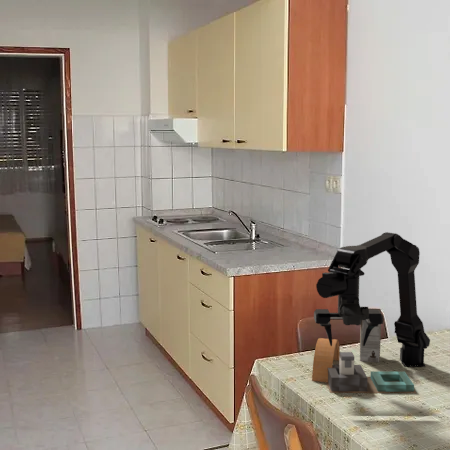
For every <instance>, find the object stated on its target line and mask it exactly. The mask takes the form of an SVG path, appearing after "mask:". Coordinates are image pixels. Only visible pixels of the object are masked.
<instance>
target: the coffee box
mask: <svg viewBox="0 0 450 450" xmlns="http://www.w3.org/2000/svg"><path fill="white" fill-rule="evenodd" d="M368 309H372V308H369V307H368ZM377 309H378V310H379V311H380V312H381V313H382V311H381V310H382V309H381V308H377ZM359 326H360V327H359V328H360V331H359V334H360V335H359V361H360V362H371V363H380V361H381V360H380V359H381V343H382V341H381V338H382V337H381V336H382V324H378V326H377V327H374V328H373V329H372V330H371V332H370V334H369V336H368V339H367V341H366V344H365V346H363V345H362V337H363V326H364V320H361V325H359Z"/></svg>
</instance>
